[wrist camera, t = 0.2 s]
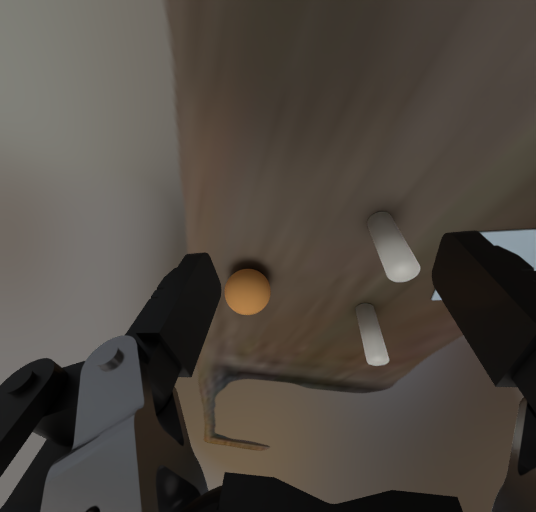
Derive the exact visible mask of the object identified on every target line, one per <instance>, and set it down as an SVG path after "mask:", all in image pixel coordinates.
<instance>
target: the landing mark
mask: <svg viewBox="0 0 536 512" xmlns="http://www.w3.org/2000/svg"><path fill="white" fill-rule="evenodd" d="M479 233H481V234H482V235H483V236H484V237H485V238H486V239H487V240H489V241H490V242H491V243H492V244H493V245H494V246H495V245H498V246H500V247H503V248H505V249H507V250H509V251H511V252H513V253H515V254H517V255H519V256H520V257H521V258H523V259H524V260H525V261H526V262H527V263H529V264H530V265H531V266H532V267H533V268H534V271H536V229H520V230H501V231H483V232H479ZM431 300H442V299H441V298H440V296H439V294H438V293H437V291H436V289H435V290H434V293H433V295H432V298H431Z"/></svg>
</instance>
